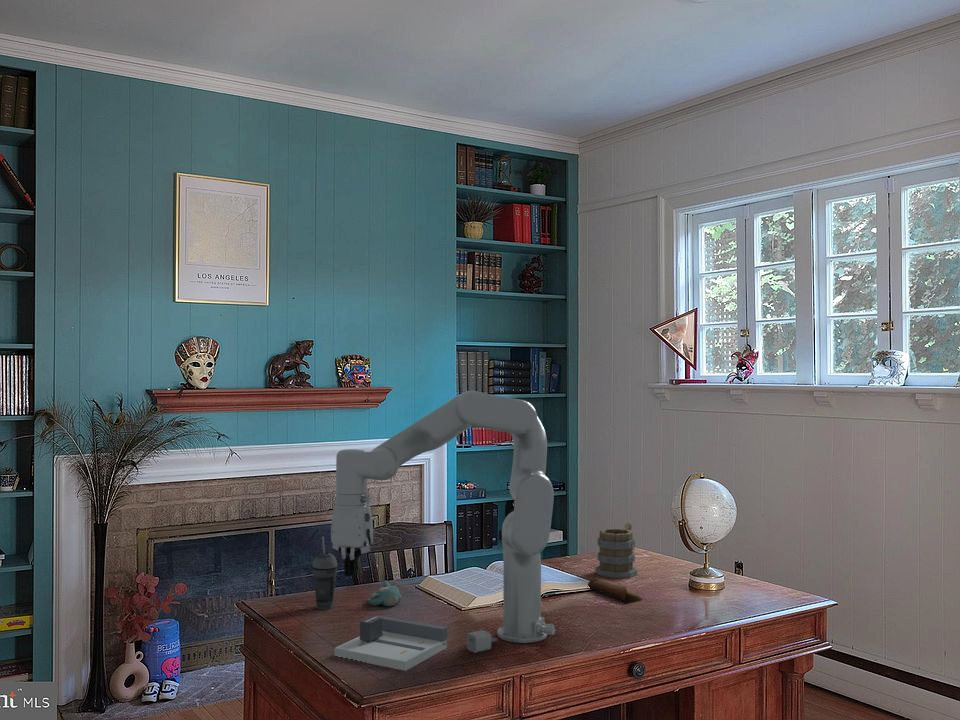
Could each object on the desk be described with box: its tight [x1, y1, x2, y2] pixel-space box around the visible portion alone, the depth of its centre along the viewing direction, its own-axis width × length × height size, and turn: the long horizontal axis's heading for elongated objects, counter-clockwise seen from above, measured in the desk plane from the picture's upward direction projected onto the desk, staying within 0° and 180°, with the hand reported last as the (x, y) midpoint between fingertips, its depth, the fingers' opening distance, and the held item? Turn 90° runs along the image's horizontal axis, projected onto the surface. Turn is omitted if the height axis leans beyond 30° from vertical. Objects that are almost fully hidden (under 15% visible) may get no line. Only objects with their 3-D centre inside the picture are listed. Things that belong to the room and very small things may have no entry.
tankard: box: [594, 522, 638, 579], centre depth 282 cm, size 20×13×15 cm, turn 147°
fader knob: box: [359, 615, 382, 642], centre depth 204 cm, size 3×5×4 cm, turn 151°
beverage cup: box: [311, 535, 339, 611], centre depth 239 cm, size 7×7×20 cm
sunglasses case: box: [587, 578, 646, 604], centre depth 252 cm, size 18×7×7 cm, turn 31°
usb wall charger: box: [466, 629, 499, 654], centre depth 204 cm, size 4×7×4 cm, turn 125°
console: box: [334, 615, 448, 672], centre depth 201 cm, size 20×18×5 cm
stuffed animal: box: [366, 580, 403, 607], centre depth 243 cm, size 11×7×12 cm
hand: (351, 574), depth 207 cm, fingers closed
